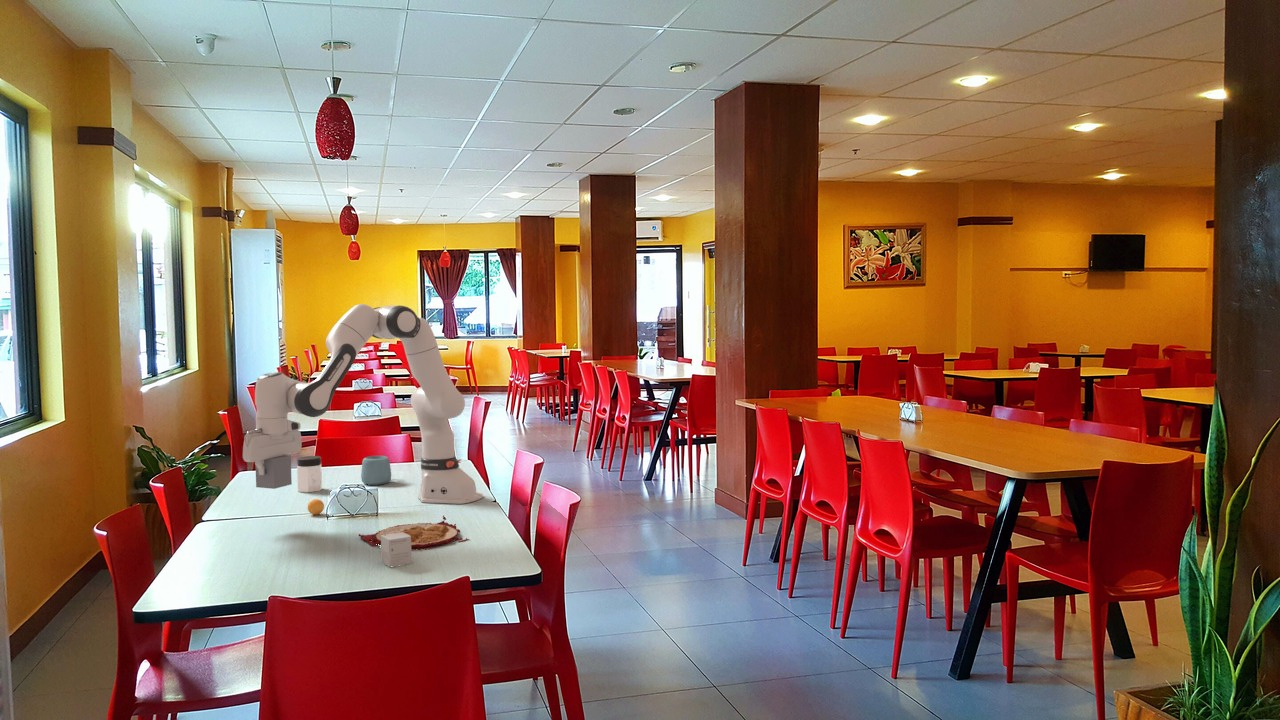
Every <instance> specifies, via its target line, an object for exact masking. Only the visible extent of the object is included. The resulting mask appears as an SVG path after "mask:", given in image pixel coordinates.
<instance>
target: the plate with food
mask: <svg viewBox="0 0 1280 720" xmlns="http://www.w3.org/2000/svg"><path fill="white" fill-rule="evenodd" d="M442 519H443V520H441V521H440V522H437V523H431V522H429V523H428V522H422V523H421V522H418V523H407V524H406V523H405V524H397V525H394V526H389V527H387V528H385V529H381V530H378V531H377V532H376V533H372V534H366V535H365V534H360V533H358V537H360V539H363V541H366V543H367V544H368V545H370V546H372V547H373V546H374V547H378V544H379V545H381V535H386V534H392V533H400V532H404V533H406V534H408V535H410V536H411V550H414V549H415V550H416V549H418V550H416V551H422V549H423V550H424V551H428V550H429V551H430V549H432V548H436V547H441V546H444V545H448V543H449V544H451V543H453V542H456V541H457V543H463V542H465V541H470V539H469V538H466V537H465V539H463V538H462V537H457V536H459V533H461V530H460V529H458V528H457V524H456V523H454V524H450V523H448V522H447V521H446V520H447V518H446V517H445V515H442ZM445 521H446V522H445ZM376 544H377V545H376ZM431 547H432V548H431ZM427 549H428V550H427Z"/></svg>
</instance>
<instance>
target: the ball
mask: <svg viewBox="0 0 1280 720" xmlns="http://www.w3.org/2000/svg"><path fill="white" fill-rule="evenodd" d="M324 509H325V504H324V502H323V501H322V500H321V499H318V498H314V499H311V500H310V501H309V502H308V503H307V511H308V513H309V514H311V515H314V516H316V515H319V514H321V513H323V511H324Z"/></svg>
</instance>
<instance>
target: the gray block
mask: <svg viewBox="0 0 1280 720" xmlns="http://www.w3.org/2000/svg"><path fill="white" fill-rule="evenodd" d="M291 458H292V456H288V455H284V456H280V457H275V458H270V459H266V460H264V464H263V466H264V468H266V469H267V471H266V472H267V474H265V475H259V469H258V468H257V466H256V465H255V464H254V465H255V487H256V488H261V489H273V490H275V489H279V488H282V487H287V486H291V485H292V459H291Z"/></svg>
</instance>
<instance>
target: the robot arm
mask: <svg viewBox="0 0 1280 720" xmlns="http://www.w3.org/2000/svg"><path fill="white" fill-rule="evenodd" d="M372 337H373V338H376V339H381V340H382V339H385V340H394V339H399V340H400V342H401V343H402V346H403V349H404V354H405V357H406V359H407V362H408V367H409V370H410V373H411V376H412V377H413V379H415V380H416V382H417V383H418V384H419V386H420V387H417V388H416V389H415V390H414V391H413V392H412V394H411V396H410V404H411V405H410V406H411V407H412V409H413V411H414V413H415V415H416V419H417V422H418V425H419V430H420V434H421V458H420V469H421V481H420V482H421V483H420V489H419V492H418V493H419V494H418V496H417V499H418V500H420V502H421V503H431V504H432V503H433V504H456V505H458V504H459V505H461V504H468V503H472V502H473V503H474V502H476V501H478V500H481V499H482V498H483V497H484V493H480V492H478V491H477V487H476V482H475V479H473V478H472V477H471V476H470V475H468V473H466V472H465V471H464V470H463V469H462V468H460V463H462V459H461V458H460V459H457V457H456V456H455V433H454V432H453V430H452V429H451V427H450V424H449V421H448V420H450V419H455V418H457V417H459V416H460V415H461V414H463V412H464V410H465V408H466V407H465V406H466V399H465V397H464V395H463V394H462V393H461V392H460V391H459V390H458V389H457V387H456V385H454V384H455V383H454V382H453V380H452V379H451V377H450V375H449V374H448V371H447V370H446V367H445V364H444V362H443V359H442V356H441V352H440V350H439V349H440V348H439V345H438V343H437V340H436V337H435V334H434V332H433V329H432V328H431V325H430V324H429V322H428V320H426V319H425V318H424V317H419V316H418V315H417V314H416V312H415V311H414V310H413V309H412V308H410V307H408V306H405V305H393V304H391V305H386V306H378V307H375V308H374V307H371V306H370V305H367V304H366V303H365V304H364V303H358V304H356V305H353V307H351V308H350V309H349V310H348V311H347V312H346V313H345V314H344V315H342V317H341V318H339V320H338V321H337V322H336V323H335V325H333V327H332V328H331V329H330V331H329V332H328V334H327V336H326V339H325V346H326V349H327V350H328V352H329V353H330V359H329V361H328V363H327V364H326V365H325V367H324V368H323V370H322V371H321V373H320V374H319V375H318V377H317V378H316V379H315V380H313V381H310V382H305V381H304V382H303V381H299V380H297V379H293V378H291V377H289V376H288V375H286V374H284V373H283V372H280V371H278V372H275V371H274V372H269V373H264V374H262V375H260V376H259V377H257V379H256V382H255V388H254V389H255V390H254V391H255V392H254V393H255V394H254V404H255V407H256V414H255V429H251V430H248V431H247V432H246V434H245V435H244V438H243V439H244V441H243V446H242V460H243V461H244V462H246V463H254V465H256V466H257V468H258V469H259V475H265V474H267V472H266V471H267V469H266V468H264V466H263V464H264V460H266V459H270V458H275V457H280V456H284V455H288V456H291V455H292V454H293V455H294V454H298V453H300V452H301V451H302V448H303V447H302V443H303V442H302V435H301V431H300V429H301V423H300V422H298V421H295V420H291V419H288V414H289V413H294V414H299V415H304V416H307V417H309V418H317V417H320V416H322V415H323V414H326V412H327V411H328V410H329V408H330V406H331V403H332V400H333V397H334V395H335V393H336V390H337V389H338V387H339V385H340V384H341V383H342V381H343V380H344V378H345V376H346V375H347V374H348V372H349V371H350V369H351V368H352V366H353V365H354V363H355V360H356V358H357V356H358V354H359V353H360V352H361V350H362V349H363V348H364V347H365V345H366V344H367V342H368V341H369V340H370V339H371V338H372ZM291 457H292V456H291ZM256 466H255V467H256Z"/></svg>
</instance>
